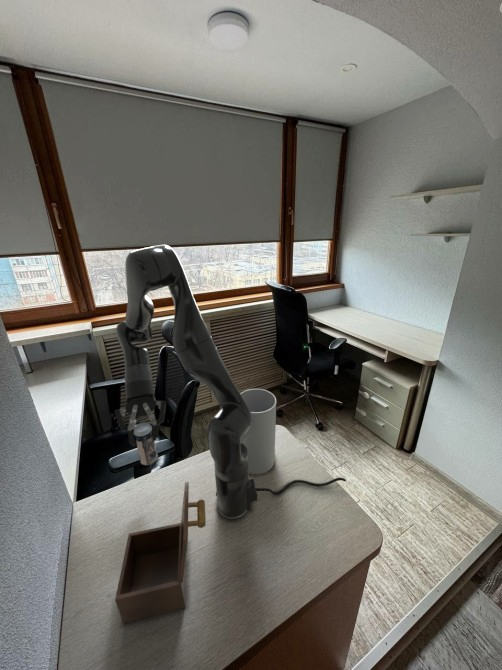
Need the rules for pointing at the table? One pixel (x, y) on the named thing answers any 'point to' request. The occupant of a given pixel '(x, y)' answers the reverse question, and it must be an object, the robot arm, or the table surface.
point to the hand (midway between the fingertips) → (144, 442)
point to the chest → (151, 574)
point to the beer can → (145, 443)
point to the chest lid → (185, 524)
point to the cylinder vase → (260, 430)
